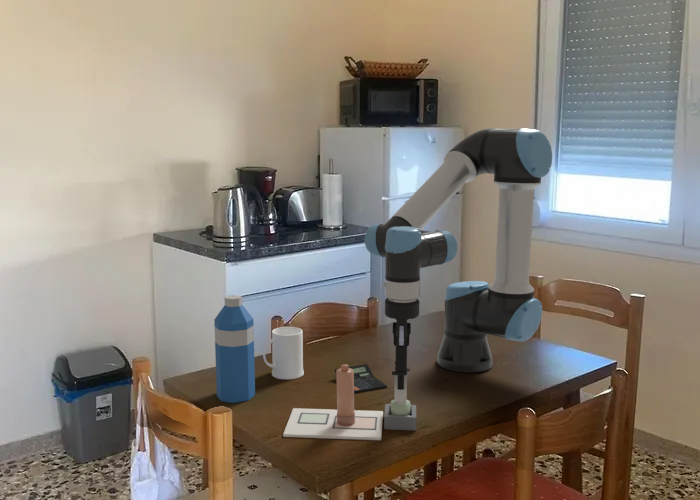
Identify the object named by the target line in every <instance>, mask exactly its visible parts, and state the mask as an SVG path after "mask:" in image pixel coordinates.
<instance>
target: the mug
mask: <svg viewBox="0 0 700 500" xmlns="http://www.w3.org/2000/svg"><path fill="white" fill-rule="evenodd" d="M303 335H304V334H303V329H301V328H300V327H296V326H280V327H277V328H274V329H272V331H271V339H270V340H269V341H267V343H266V344H265V345H264V348H263V351H262V358H263V361H264V363H265V364H266V366H268V367H269V368H272V370H271V376H272V377H273V378H275V379H277V380H284V381H285V380H295V379H298V378H302V377H303V376H304V374H305V372H304V360H303V359H304V358H303V357H304V352H303V351H304V350H303V349H304V348H303V347H304V345H303V341H304V339H303V338H304V337H303ZM271 344H272V345H271ZM270 345H271V347H272V349H271V350H272V351H271V353H272V355H271V356H272V359H271V360H272V363H269V362H268V361H267V357H266V352H267V349H268V348H269V347H270Z"/></svg>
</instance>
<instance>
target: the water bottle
mask: <svg viewBox="0 0 700 500" xmlns="http://www.w3.org/2000/svg"><path fill="white" fill-rule="evenodd" d="M213 320H214V349H215V353H214V355H215V377H216V378H215V380H216V381H215V382H216V397H217V398H218V399H219V400H220V402H225V403H231V404H236V403H241V402H242V403H243V402H247V401H250V400H251V399H252V398H254V396H255V395H256V381H255V380H256V377H255V376H256V375H255V373H256V372H255V367H256V366H255V336H254V334H255V333H254V332H255V329H254V327H255V325H254V318H253V316H252V314H250V313H249V311H248V310H247V309H246V308H245V306H244V305H243V296H242V295H239V294H233V295H232V294H231V295H226V296H224V306H223V307H222V308H221V310H220V311H219V312H218V314H217V316H216V317H215V318H214V319H213Z"/></svg>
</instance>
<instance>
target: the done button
mask: <svg viewBox="0 0 700 500" xmlns="http://www.w3.org/2000/svg"><path fill="white" fill-rule="evenodd" d="M390 404H391V415H410V405H412V404H411V401H410V400H408V399H407V401H406V403H402V402H394V399H392V400H390Z"/></svg>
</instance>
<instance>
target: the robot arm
mask: <svg viewBox="0 0 700 500" xmlns="http://www.w3.org/2000/svg"><path fill="white" fill-rule="evenodd" d="M550 143H551V142H550V141H549V139H548V137H547V136H546V135H545V134H544V133H543V132H542V131H541V130H537V129H531V128H526V127H523V128H495V127H489V128H483V129H480V130H477V131H476V132H473V133H471V134H470V135H468V136H466V137H465V138H463V139H462V140H461V141H459V142H458V143H456V144H455V145H454V146H453V147H452V148H451V149H450V150H449V151H448V152H447V153H446V154H445V156H444V158H443V163H442V164H441V165H440V166H439V167H438V168H437V169H436V170H435V172H434V173H432V175H430V177H429V178H428V179H426V181H425V182H424V183H422V185H421V186H420V187H419V188H418V189H416V191H415V192H414V193H413V194H412V195H411V196H410V197H409V199H408V200H407V201H406V202H404V204H403V205H401V207H400V208H399V209H398V210H397V211H396V212H395V213H394V214H393V215H392V216H391V217H390V218H389V219H388V220H387V222H385V223H384V224H383V223H377V224H376V223H375V224H373V225H371V226H369V227H368V228H367V231H366V232H365V235H364V246H365V248H366V250H367V252H369V253H370V254H372V255H374V256H377V257H381V258H385V259H384V260H385V261H384V262H385V276H384V278H385V279H384V280H385V282H383V283H382V285H381V286H382V288H384V296H385V299H384V315H385V317H387V318H388V319H389V318H390V319H393V320H396V321H395V322H392V334H393V345H394V346H395V361H394V365H395V367H394V370H395V371H394V370H392V371H391V376H394V391H393V392H394V394H393V395H394V396H393V398H394V399H393V400H394V402H402V403H406V401H407V400H408V399H407V397H408V395H407V393H408V392H407V389H408V388H407V385H408V372H410V370H411V369H410V368H411V367H407V366H408V347H409V346H410V335H411V333H412V332H411V329H412V327H411V322H408V320H414V319H416V318H418V317H419V316H420V300H419V298H420V297H421V269H424V268H428V267H433V266H440V265H441V266H442V265H443V264H446V263H449V262H451V261H452V260H453V259H454V258H455V257H456V255H457V253H458V241H457V239H456V237H455V236H454V234H452V232H450V231H448V230H444V229H443V230H440V229H439V230H438V229H435V230H434V231H429V230H428V231H427V230H423V229H424V228H425V227H427V225H428V224H429V223H430V222H431V221H432V220H433V219H434V218H435V217H436V216H437V214H438V213H439V212H440V211H441V210H442V209H443V208H444V206H445V205H446V204H447V203H449V201H450V200H451V199H452V198H453V197H454V196H455V195H456V193H458V192H459V190H460V189H461V188H462V187H463V186H464V185H465V184H466V183H471V182H473V181H474V180H475V179H476V177H478V176H480V175H486V174H491V175H493V183H494V184H495V185H496V186H497V187H498V189H499V194H498V195H499V196H498V211H497V213H498V214H497V231H496V234H497V235H496V249H495V251H496V252H495V253H496V254H495V269H494V270H495V272H494V281H492V283H490V284H489V283H488V282H487V281H483V280H470V281H469V280H467V281H458V282H454V283H451V284H448V286H447V287H446V289H445V296H444V332H443V333H444V334H443V338H442V342H441V344H440V347H439V350H438V352H437V355H436V356H437V357H436V360H437V362H436V363H437V365H438V366H439V367H440V368H443V369H445V370H447V371H451V372H458V373H465V374H466V373H472V374H473V373H479V372H486V371H488V370H490V369H491V368H492V367H493V356H492V352H491V348H490V345H489V341H488V338H487V337H488V335H489V336H490V335H491V336H495V337H499V338H502V339H506V340H508V341H516V342H526V341H528V340H529V339H530V338H532V337H533V336H534V335H535V333H536V331H538V328H539V327H540V324H541V321H542V317H543V305H542V302H541V301H540V300H539V299H537V298H535V288H534V287H533V286H532V285H531V284H530V282H529V280H530V265H531V248H532V231H533V219H534V218H533V213H534V197H535V190H536V189H537V188H538V187H539V186H540V185H541V183H542V182H541V181H542V178H543V177H545V176H547V175H548V174H549V172H550V169H551V167H552V165H553V164H552V163H553V152H552V146H551V144H550Z"/></svg>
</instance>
